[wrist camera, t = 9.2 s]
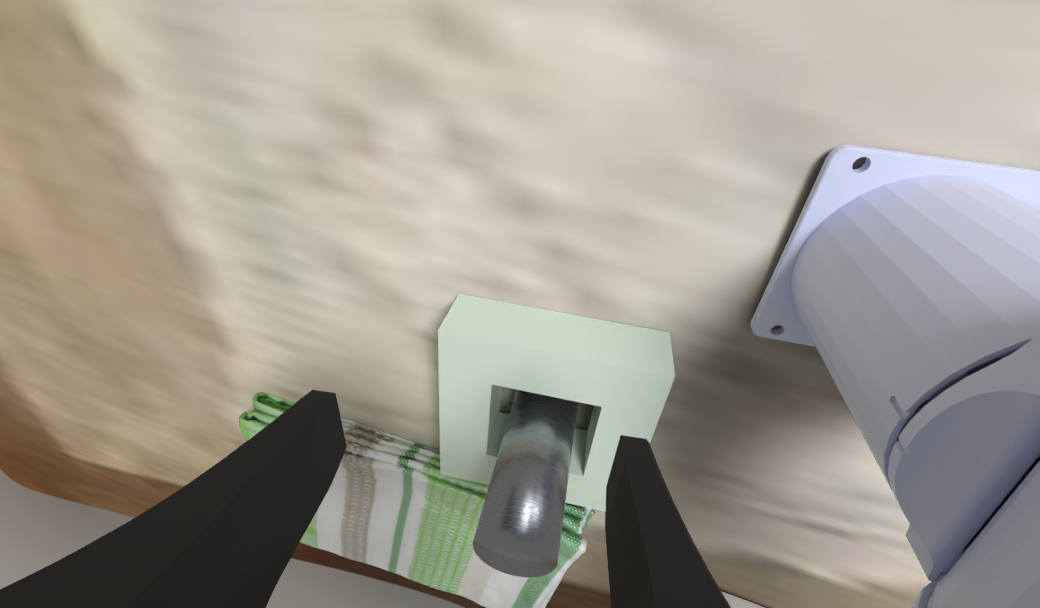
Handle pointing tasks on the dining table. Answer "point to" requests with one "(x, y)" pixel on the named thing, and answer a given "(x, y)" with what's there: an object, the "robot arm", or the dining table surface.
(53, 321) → the dining table surface
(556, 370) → the socket
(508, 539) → the peg
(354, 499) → the dish towel
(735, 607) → the milk carton
